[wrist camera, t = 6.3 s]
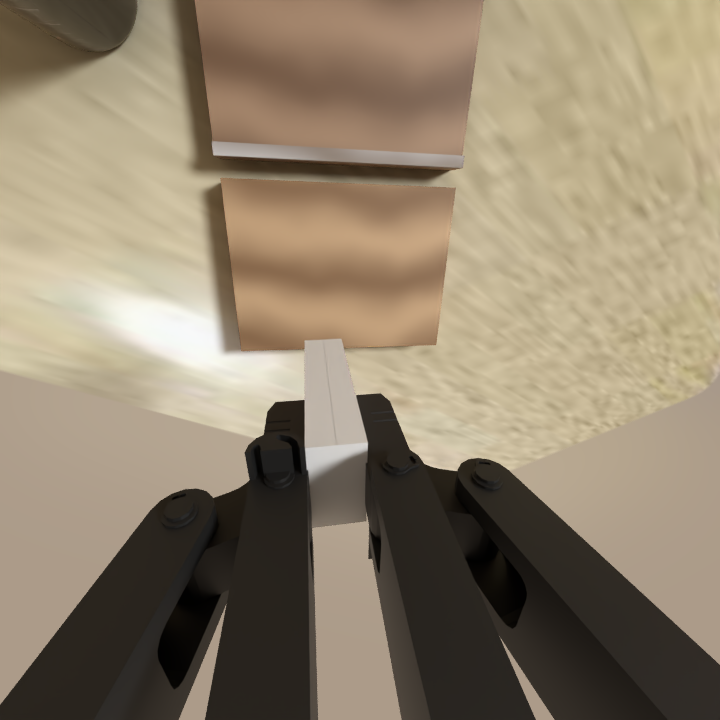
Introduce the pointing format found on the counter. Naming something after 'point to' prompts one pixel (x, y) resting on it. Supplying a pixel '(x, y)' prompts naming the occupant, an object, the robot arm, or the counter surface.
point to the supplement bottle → (80, 20)
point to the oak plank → (336, 262)
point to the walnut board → (340, 80)
